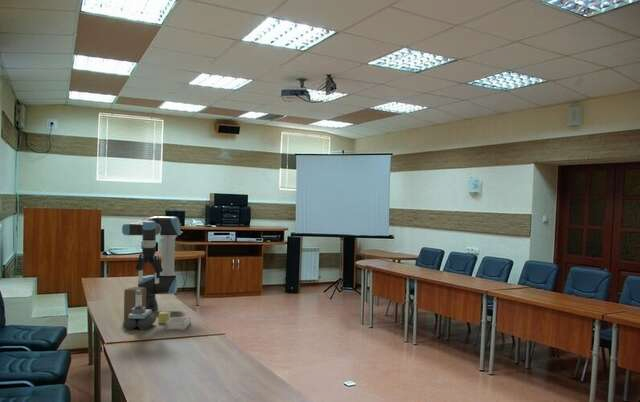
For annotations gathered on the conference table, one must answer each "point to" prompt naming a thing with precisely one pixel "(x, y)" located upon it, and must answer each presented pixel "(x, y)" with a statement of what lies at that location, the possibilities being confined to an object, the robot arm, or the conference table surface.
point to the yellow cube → (163, 317)
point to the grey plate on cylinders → (139, 319)
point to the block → (132, 299)
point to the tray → (177, 323)
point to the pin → (138, 299)
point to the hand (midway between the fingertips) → (148, 282)
